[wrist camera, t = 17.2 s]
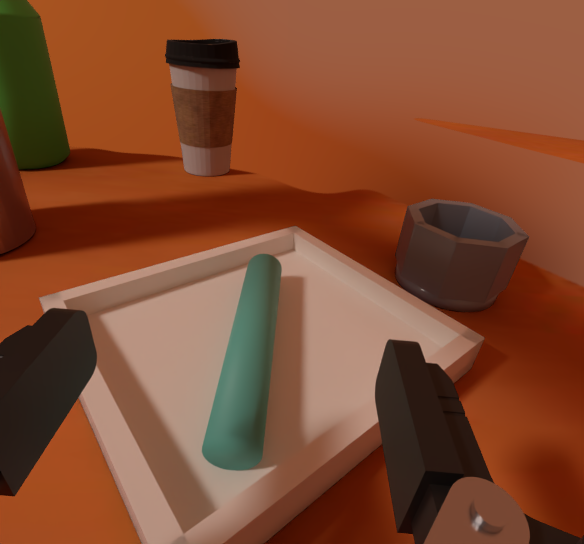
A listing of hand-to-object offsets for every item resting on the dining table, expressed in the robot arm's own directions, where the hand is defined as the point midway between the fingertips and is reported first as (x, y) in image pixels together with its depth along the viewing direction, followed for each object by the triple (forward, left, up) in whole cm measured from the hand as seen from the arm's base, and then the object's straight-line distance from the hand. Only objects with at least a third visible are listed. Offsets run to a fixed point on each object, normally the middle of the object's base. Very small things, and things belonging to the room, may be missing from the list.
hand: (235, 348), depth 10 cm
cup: (-5, +23, -9) cm, 26 cm away
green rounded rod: (-12, +10, -7) cm, 17 cm away
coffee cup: (-39, +20, -9) cm, 45 cm away
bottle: (-51, +2, -9) cm, 52 cm away
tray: (-7, +6, -9) cm, 13 cm away
